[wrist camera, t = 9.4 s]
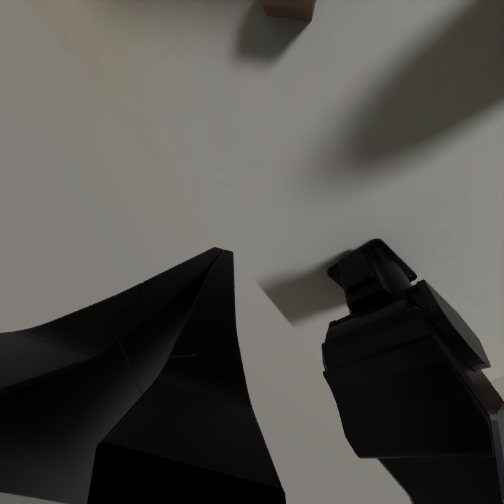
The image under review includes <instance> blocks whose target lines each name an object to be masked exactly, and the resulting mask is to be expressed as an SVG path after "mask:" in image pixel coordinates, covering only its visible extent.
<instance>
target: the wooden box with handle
mask: <svg viewBox="0 0 504 504" xmlns="http://www.w3.org/2000/svg"><path fill="white" fill-rule="evenodd" d="M261 2H262V4H263V7H264V10H265V12H266V15H272V16H279V17H286V18H294V19H301V20H309V21H312V16H313V12H314V7H315V2H316V0H261Z"/></svg>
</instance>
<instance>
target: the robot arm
mask: <svg viewBox="0 0 504 504" xmlns="http://www.w3.org/2000/svg"><path fill="white" fill-rule="evenodd" d="M377 243H380V244H379V245H376V244H377ZM330 272H333V273H330ZM327 274H328V276H329V277H330V278H332V279H333V280H334V281H335V282H336V283H337V284H339V285H340V286H341V287H342V288H343V289H344V292H345V297H346V301H347V306H348V308H349V312H350V315H348V316H345V317H343V318H341V319H339V320H337V321H335V320H334V321H332V322H330V323H329V328H328V332H327V334H326V339H325V342H324V343H322V357H323V364H324V368H325V371H323V375H324V377H325V379H326V381H327V383H328V384H329V386H330V388H331V391H332V393H333V396H334V398H335V401H336V403H337V407H338V410H339V414H340V417H341V422H342V425H343V429H344V434H345V437H346V439H347V440H348V442H349V444H350V445H351V447H352V448H353V450H354V452H355V453H356V455H357V456H358V457H359V458H377V459H378V460H379V461H380V463H381V464H382V465H383V466H384V467H385V469H386V470H387V471H388V472H389V473H390V474H391V475H392V477H393V478H394V479H395V480H396V481H397V482H398V484H399V485H400V486H401V487H402V488H403V489H404V491H405V492H406V493H407V494H408V496H409V498H410V500H411V502H412V504H504V401H503V400H502V398H501V397H500V395H499V394H498V392H497V391H496V390H495V388H494V387H493V386H492V385H491V383H490V382H489V380H488V379H487V377H486V376H485V375H484V373H483V372H482V371H481V369H485V368H490V367H491V365H490V363H489V360H488V358H487V356H486V354H485V351H484V349H483V347H482V345H481V342H480V340H479V339H478V337H477V336H476V335H475V334H474V332H473V331H472V330H471V329H470V327H469V326H468V325H467V324H466V323H465V321H464V320H463V319H462V318H461V316H460V315H459V314H458V313H457V312H456V311H455V310H454V309H453V308H452V307H451V306H450V305H449V304H448V303H447V302H446V301H445V300H444V299H443V298H442V297H441V296H440V295H439V294H438V293H437V292H436V291H435V290H434V289H433V288H432V287H431V286H430V285H429V284H428V283H427V282H426V281H425V280H424V279H423V280H421V281H419V282H417V284H416V285H413V286H412V285H411V283H410V282H412V281H414V280H415V279H416V278H417V275H416V274H415V272H414V271H413V270H412V269H411V268H410V267H409V266H408V265H407V264H406V263H405V262H404V261H403V260H402V259H401V258H400V257H399V256H398V255H397V254H396V253H395V252H394V251H393V250H392V249H391V248H390V247H389V246H388V245H387V244H385V243H384V242H383V241H382V240H381V239H375V240H373V241H371V242H370V243H368V244H367V245H365V246H364V247H362V248H361V249H358V250H356V251H355V252H353V253H352V254H350V255H348V256H347V257H345V258H344V259H342V260H341V261H339V262H338V263H337V264H336V265H334V266H332V267H331V268H329V269H328V270H327ZM409 276H411V277H409ZM234 289H235V287H234V258H233V252H232V251H228V250H223V249H220V248H216V247H214V248H212V249H209V250H207V251H206V252H204V253H201V254H199V255H197V256H195V257H194V258H191V259H189V260H187V261H185V262H183V263H181V264H179V265H177V266H175V267H173V268H171V269H169V270H167V271H165V272H163V273H160V274H159V275H156V276H155V277H152V278H151V279H148V280H146V281H144V282H143V283H140V284H138V285H136V286H134V287H132V288H130V289H127V290H125V291H123V292H121V293H119V294H117V295H115V296H112V297H110V298H107V299H105V300H102V301H100V302H98V303H95V304H93V305H90V306H88V307H85V308H83V309H80V310H78V311H75V312H73V313H71V314H68V315H65V316H63V317H61V318H58V319H55V320H53V321H50V322H48V323H45V324H42V325H40V326H36V327H33V328H29V329H25V330H20V331H14V332H5V333H0V504H286V499H285V492H284V490H283V488H282V485H281V482H280V480H279V477H278V475H277V472H276V469H275V467H274V464H273V461H272V459H271V456H270V454H269V451H268V448H267V446H266V443H265V440H264V438H263V435H262V432H261V430H260V427H259V425H258V422H257V419H256V417H255V414H254V411H253V408H252V405H251V401H250V398H249V393H248V389H247V384H246V379H245V374H244V369H243V364H242V359H241V354H240V348H239V343H238V337H237V330H236V314H235V290H234Z"/></svg>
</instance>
